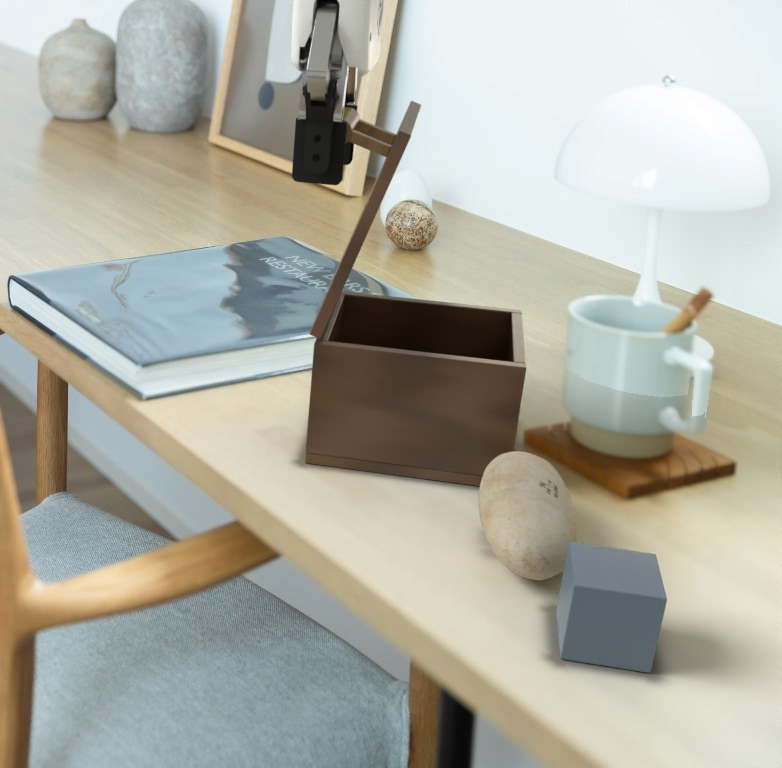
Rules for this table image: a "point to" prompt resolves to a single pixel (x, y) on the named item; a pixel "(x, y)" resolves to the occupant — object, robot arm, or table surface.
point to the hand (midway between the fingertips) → (323, 169)
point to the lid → (393, 152)
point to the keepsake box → (415, 387)
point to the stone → (526, 514)
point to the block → (610, 607)
